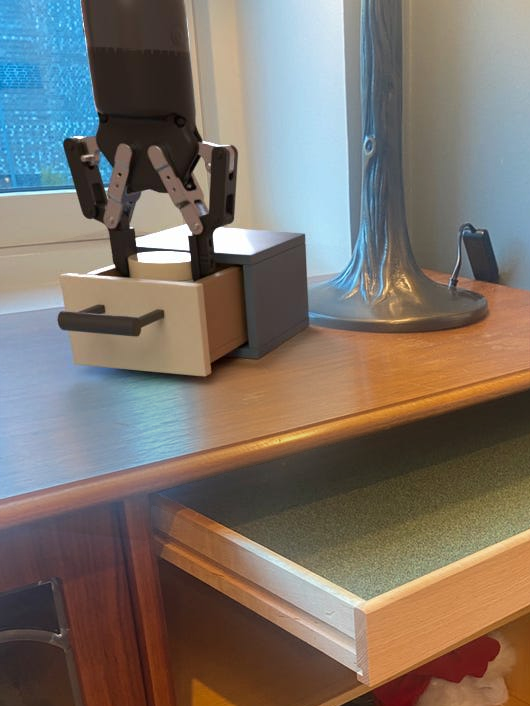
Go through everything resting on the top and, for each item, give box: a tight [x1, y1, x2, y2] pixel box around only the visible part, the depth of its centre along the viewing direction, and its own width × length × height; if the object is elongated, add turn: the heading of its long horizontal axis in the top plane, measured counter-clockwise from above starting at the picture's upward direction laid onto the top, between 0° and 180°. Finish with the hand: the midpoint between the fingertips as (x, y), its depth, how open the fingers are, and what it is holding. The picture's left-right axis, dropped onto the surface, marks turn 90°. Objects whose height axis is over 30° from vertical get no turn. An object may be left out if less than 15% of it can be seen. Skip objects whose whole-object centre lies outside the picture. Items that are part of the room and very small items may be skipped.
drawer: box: [57, 263, 248, 377], centre depth 80 cm, size 19×12×7 cm, turn 171°
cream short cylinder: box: [128, 252, 194, 283], centre depth 81 cm, size 6×6×2 cm
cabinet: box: [136, 224, 310, 360], centre depth 92 cm, size 15×13×9 cm
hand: (165, 277), depth 81 cm, fingers closed on cream short cylinder, 5 cm apart
